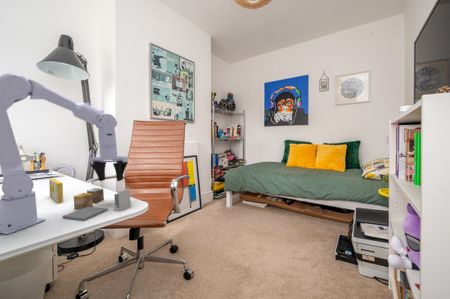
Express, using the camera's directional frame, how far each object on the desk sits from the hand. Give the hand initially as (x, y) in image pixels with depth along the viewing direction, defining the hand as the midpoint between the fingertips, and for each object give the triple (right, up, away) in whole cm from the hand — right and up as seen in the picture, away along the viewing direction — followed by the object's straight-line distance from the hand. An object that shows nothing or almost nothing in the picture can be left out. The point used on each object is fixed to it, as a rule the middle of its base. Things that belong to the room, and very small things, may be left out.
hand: (111, 180), depth 79 cm
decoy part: (-8, -9, +4) cm, 13 cm away
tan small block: (-8, -10, -4) cm, 13 cm away
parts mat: (-3, -10, -10) cm, 14 cm away
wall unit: (+7, -9, -5) cm, 13 cm away
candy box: (-28, -10, +8) cm, 30 cm away
